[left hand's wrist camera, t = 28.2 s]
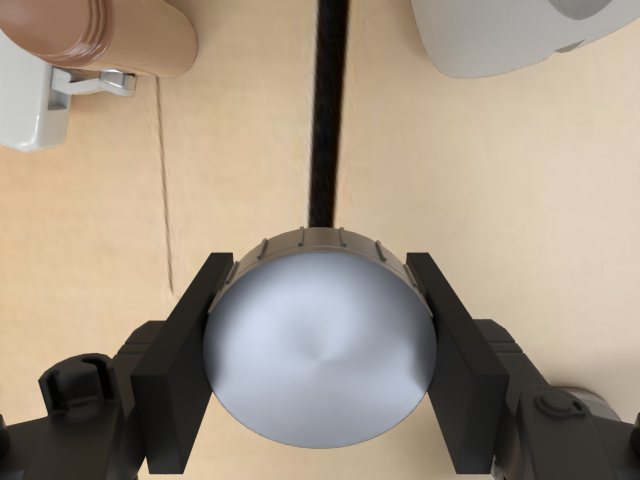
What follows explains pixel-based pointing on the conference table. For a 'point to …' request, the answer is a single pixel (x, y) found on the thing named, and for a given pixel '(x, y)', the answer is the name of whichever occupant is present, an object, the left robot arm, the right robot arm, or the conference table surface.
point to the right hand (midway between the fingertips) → (142, 34)
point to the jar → (103, 34)
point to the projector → (512, 31)
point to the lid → (319, 339)
